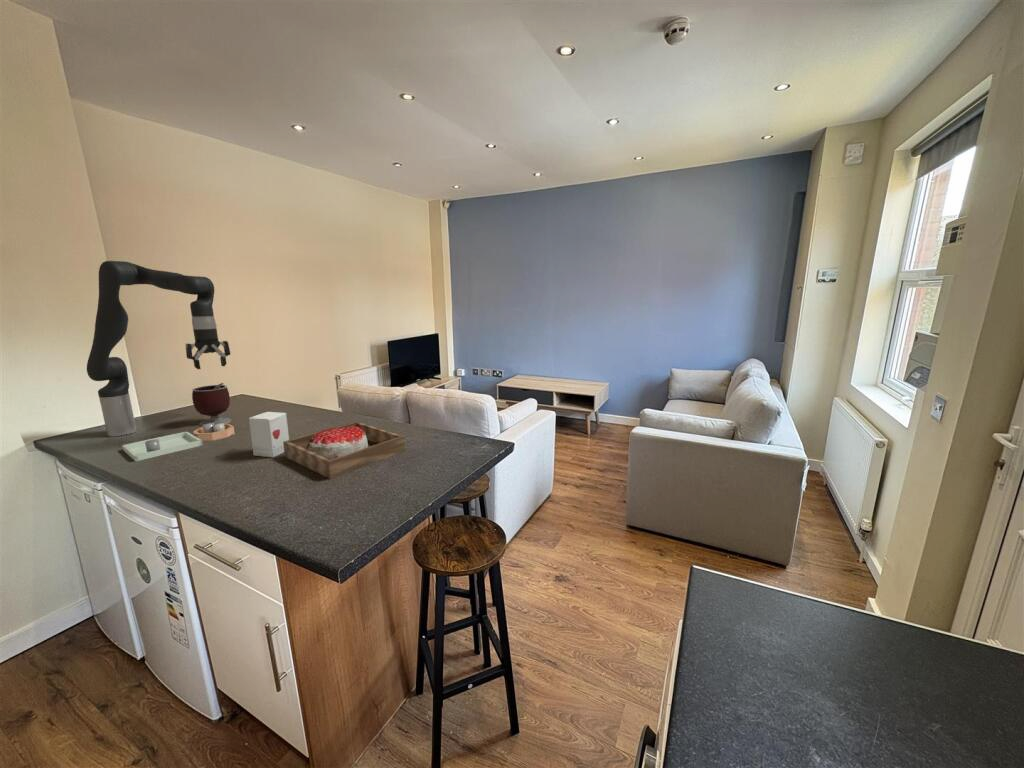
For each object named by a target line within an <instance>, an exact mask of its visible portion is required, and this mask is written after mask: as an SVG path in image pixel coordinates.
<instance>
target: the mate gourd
mask: <svg viewBox="0 0 1024 768" xmlns="http://www.w3.org/2000/svg"><path fill="white" fill-rule="evenodd" d="M191 395H192V396H191V398H192V404H193V406H194V409H195V411H196V412H197V413H199V414H200V415H201V416H202V415H203V416H208V417H210V419H207V420H206V419H205V420H202V421H201V422H199V423H198V425H199V427H200V428H201V427H203V424H206V423H214V424H216V423H224V424H230V423H231V422H232V419H231V418H229V417H219V415H221V414H223V413H225V412H226V411H227V410H228V409H229V407H230V404H231V403H230V402H231V397H230V392H229V389H228V387H227V385H225V384H224V382H221V383H218V384H212V385H203V386H198V387H197V386H196V387H195V388H193V389H192V393H191Z"/></svg>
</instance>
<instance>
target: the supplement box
mask: <svg viewBox="0 0 1024 768" xmlns="http://www.w3.org/2000/svg"><path fill="white" fill-rule="evenodd" d="M248 421H249V422H248V423H249V429H250V431H249V432H250V437H251V445H252V453H253V456H255V457H256V456H257V457H264V458H265V457H267V458H275V457H277V456H279V455H281V454H283V453H285V452H284V445H283V442H284V441H287V440H290V435H289V426H288V418H287V412H278V411H277V412H276V411H275V412H274V411H266V412H262V413H260V414H257V415H253V416H251V417H249V418H248Z"/></svg>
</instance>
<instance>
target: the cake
mask: <svg viewBox="0 0 1024 768" xmlns="http://www.w3.org/2000/svg"><path fill="white" fill-rule="evenodd" d="M315 433H316V434H315V435H314V436H313V437H312V438H311V439H310V440H309V442H308V444H307V447H306V449H307V450H309V451H311V452H313V453H316V454H318V455H320V456H322V457H325V458H327V459H329V460H332V459H335V458H338V457H341V456H344V455H347V454H350V453H352V452H355V451H358V450H361V449H364V448H367V447H369V444H368V440H367V437H366V435H365V432H364V431H363V430H362V429H361V428H359V427H356V426H347V427H342V428H335V427H330V428H326V429H323V430H320V431H317V432H315Z"/></svg>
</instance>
